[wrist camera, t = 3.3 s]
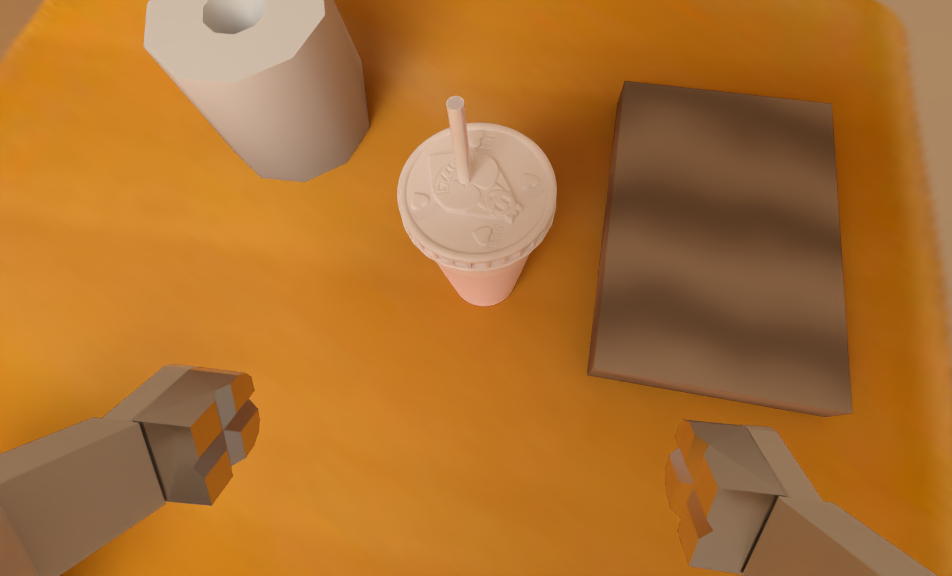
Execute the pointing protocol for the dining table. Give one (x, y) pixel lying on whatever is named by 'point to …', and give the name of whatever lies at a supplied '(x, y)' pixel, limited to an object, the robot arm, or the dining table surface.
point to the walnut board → (723, 251)
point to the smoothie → (477, 203)
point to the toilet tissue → (267, 78)
